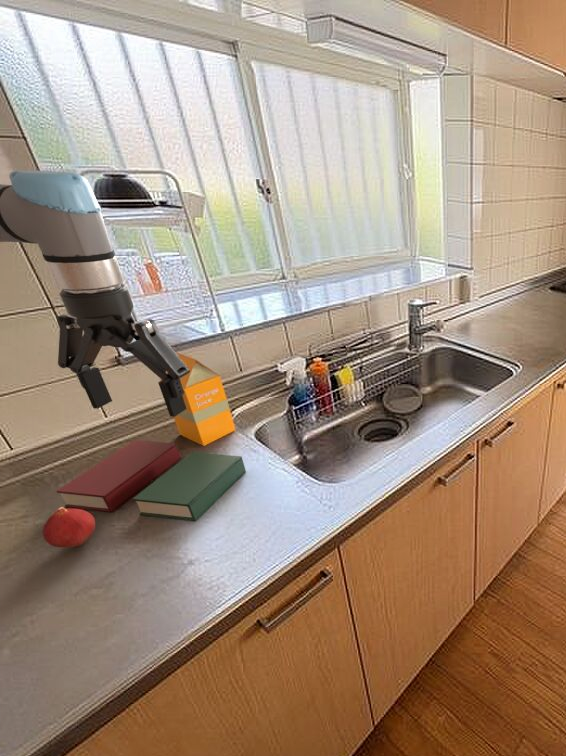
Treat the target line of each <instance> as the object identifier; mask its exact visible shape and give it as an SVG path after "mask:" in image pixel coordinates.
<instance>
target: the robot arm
mask: <svg viewBox="0 0 566 756" xmlns="http://www.w3.org/2000/svg"><path fill="white" fill-rule="evenodd" d="M9 180H10V183H11V184H3V183H2V184H0V243H22V244H23V243H24V244H36V245H38V248H39V250H40V252H41V255H42V258H43V260H44V262H45V265H46V267H47V269H48V272H49V274H50V276H51V279H52V281H53V285H54V286H55V287H56V288H58V289H60V290H61V291H60V292H59V297H60V298H61V301H62V303H63V305H64V308H65V311H66V313H64V314H61V315H58V316H56V323H57V325H58V328H59V338H58V339H59V340H58V356H57V365H58V367H59V368H61V369H66V368H67V369H70V371H71V372H72V373H74V374H75V375H76V377H77V379H78V382H79V383H80V386H81V387H82V388H83V390H85V393H86V395H87V397H88V400H89V402H90V404H91V406H92V407H93V409H96V410H97V409H100V408H102V407H104V406H106V405H108V404H109V403H111V402H113V399H112V397H111V394H110V392H109V390H108V387H107V385H106V382H105V380H104V378H103V375H102V373H101V371H100V369H99V367H97V366H96V365H97V363H95V361H96V359H97V357H98V355H99V353H100V351H101V349H102V347H108V346H110V347H112V348H118V349H121V350H122V351H124V352H126V353H130V354H131V355H132V356H134V357H135V358H136V360H138V361H139V362H140V363H142V364H143V365H144V366H145V367H147V369H149V370H150V371H151V372H152V373H153V374H154V375H156V376H157V377H158V378H159V379H162V381H160V380H159V381H157V384H158V386H159V389H160V392H161V394H162V396H163V400H164V403H165V406H166V409H167V412H168V414H169V417H171V418H174V417H175V416H177V415H178V414H180V413H181V412H183V411H184V410H186V409H187V408H186V405H185V402H184V399H183V396H182V395H183V394H184V390H183V387H182V384H181V381H180V378H181V377H183V376H185V375H187V374H189V373H190V370H189V368H188V367H187V366H186V365H185V363H184V362H183V361H182V360H181V359H180V357H179V356H178V355H177V354H176V353H177V352H176V350H174V348H173V347H172V346H171V345H170V344H169V342H168V341H167V340H166V338H165V337H164V336H163V335H162V333H161V332H160V330H159V328H158V325H157V324H156V322H155V320H154V319H152V318H148V319H145V320H143V321H137V320H136V319H135V318H134V316H132V311H133V308H134V303H133V300H132V297H131V294H130V292H129V288H128V287H127V286H126V285H125V284H123V283H124V282H125V277H124V275H123V272H122V270H121V267H120V264H119V261H118V258H117V255H116V252H115V250H114V249H113V245H112V242H111V239H110V236H109V233H108V230H107V227H106V224H105V221H104V216H103V214H102V208H101V204H99V203H98V201H97V198H96V195H95V193H94V192H93V188H92V186H91V185H90V183H89V181H88V179H86V177H84V176H83V175H81V174H80V173H76V172H70V171H54V170H53V171H52V170H37V169H36V170H34V169H33V170H32V169H31V170H30V169H29V170H28V169H27V170H26V169H25V170H14V171H11V172H10V173H9ZM134 340H135V341H134ZM95 366H96V367H95ZM166 371H167V372H168V373H166Z"/></svg>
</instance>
